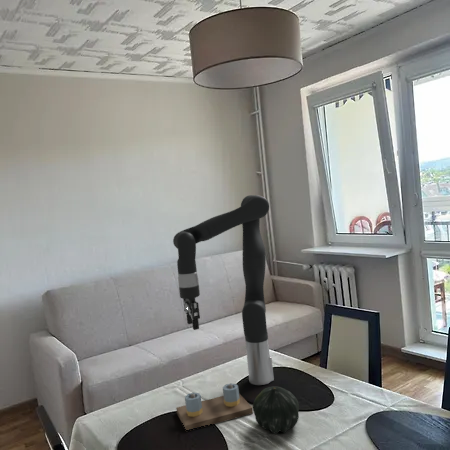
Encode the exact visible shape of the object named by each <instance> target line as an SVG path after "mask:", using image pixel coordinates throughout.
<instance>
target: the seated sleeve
mask: <svg viewBox="0 0 450 450" xmlns="http://www.w3.org/2000/svg"><path fill="white" fill-rule="evenodd" d="M230 384H231V385H232V386H233V388H232V389H228V386H229V385H230ZM239 389H240V388H239V385H238V384H236V383H227V384H225V385H224V386H222V394H223V395H222V396H224V404H225V405H226V406H230V407H233V406H236V405H238V404H239V403H240V398H239V393H240V390H239Z"/></svg>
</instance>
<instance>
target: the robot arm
mask: <svg viewBox="0 0 450 450" xmlns="http://www.w3.org/2000/svg"><path fill="white" fill-rule="evenodd" d="M269 210H270V203H269V201H268V200H267V198H266V197H264V196H262V195H258V194H250V195H247V196H245V197H243V198H242V201H241V202H240V206H239V207H237V208H235V209H233V210H231V211H228V212H224V213H222V214H218V215H216V216H213V217H211V218H208V219H206V220H204V221H202V222H200V223H198V224H197V225H194V226H192V227H188V228H186V229H183V230H181V231H178V232H177V233H176V234H175V235H174V237H173V239H172V240H173V241H172V243H173V245H174V248H176V249H177V255H178V259H177V261H176V264H177V265H176V266H177V275H178V276H177V279H178V291H179V298H180V299H182V302H183V311H184V313H185V315H186V321H187V325H192V329H193V331H196V330H199V328H200V323H199V319H201V315H200V314H201V313H200V308H199V306H200V305H199V304H200V303H199V302H198V301H196V298H198V297H200V295H201V293H200V291H201V290H200V285H199V276H198V270H197V263H196V257H197V256H196V255H197V254H196V253H197V244H198V243H201V242H206V241H209V240H210V239H213V238H215V237H218V236H219V235H220V234H223V233H225V232H227V231H229V230H231V229H233V228H236V227H237V226H240V225H241V226H242V255H241V256H242V272H243V279H244V283H245V291H244V292H245V293H244V295H245V296H244V303H243V306H242V307H243V308H242V311H241V317H242V318H241V319H242V327H243V333H244V341H245V350H246V351H245V352H246V360H247V372H248V380H249V383H250V384H251V385H255V386H262V385H268V384H269V383H271V382H273V381H275V380H274V379H275V377H274V368H273V367H274V366H273V359H272V358H273V357H271V356H270V345H269V333H268V329H267V328H268V327H267V319H266V317H267V316H266V312H267V310H266V308H267V307H266V301H265V292H264V284H265V277H266V276H265V274H266V247H265V244H264V241H263V240H264V239H263V238H262V233H261V231H260V230H261V228H260V223H261V222H260V219H262V218H264V217H266V216H267V214H268V213H269Z"/></svg>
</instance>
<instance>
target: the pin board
mask: <svg viewBox="0 0 450 450" xmlns="http://www.w3.org/2000/svg"><path fill="white" fill-rule="evenodd" d="M229 384H230V383H229ZM232 388H233V386H232V385H231V384H230V385H229V386H228V389H232ZM191 398H195V394H191ZM239 398H240V403H239V404H238V405H236V406H233V407H230V406H226V405H225V404H224V396H223V395H221V396H217V397H213V398H209V399H205V400H201V402H202V413H201V414H200V415H198V416H195V417H192V416H188V415H187V412H186V404H185V405H181V406H177V407H176V408H175V410H176V415H177V416H178V418H179V420H180V423H181V424H182V423H183V424H182V426H183V425H184V426H183V428H184V427H185V428H184V429H186V430H189V429H193V428H197V427H201V426H204V427H206V426H205V425H208V426H211V425H210V424H212V425H214V424H215V425H216V424H218V423H222V422H226V421H230V420H234V419H237V418H241V417H245V416H249V415H250V414H254V411H253V406H251V405H250V403H249V402H248V401H247V400H246V399H245V397H244V396H242V395H241V393H240V392H239ZM201 428H202V427H201ZM197 429H198V428H197ZM186 430H185V431H186ZM193 430H194V429H193Z"/></svg>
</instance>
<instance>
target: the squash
mask: <svg viewBox="0 0 450 450" xmlns="http://www.w3.org/2000/svg"><path fill="white" fill-rule="evenodd" d="M252 410H253V415H254V417H255V421H256V422H257V424H258V425H259V426H260V427H261V428H263V429H265V430H267V431H268V430H270V431H271V433H272V434H275V435H276V434H278V433H279V432H281V433H286V432H288V431H289V429H292V428H293V427H295V426H296V425H297V423H298V422H299V416H300V415H299V411H300V405H299V401H298V399H297V397H296V396H295V395H294V394H293V393H292V392H291V391H289V390H287V389H286V388H283V387H281V386H277V385H276V386H275V385H274V386H269V387H265V388H263V389H262V390H261V392H259V394H257V395H256V397H255V399H254V400H253V403H252Z"/></svg>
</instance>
